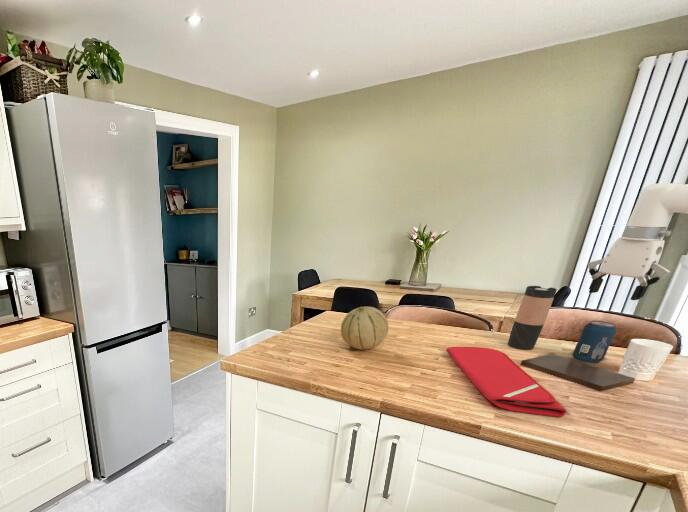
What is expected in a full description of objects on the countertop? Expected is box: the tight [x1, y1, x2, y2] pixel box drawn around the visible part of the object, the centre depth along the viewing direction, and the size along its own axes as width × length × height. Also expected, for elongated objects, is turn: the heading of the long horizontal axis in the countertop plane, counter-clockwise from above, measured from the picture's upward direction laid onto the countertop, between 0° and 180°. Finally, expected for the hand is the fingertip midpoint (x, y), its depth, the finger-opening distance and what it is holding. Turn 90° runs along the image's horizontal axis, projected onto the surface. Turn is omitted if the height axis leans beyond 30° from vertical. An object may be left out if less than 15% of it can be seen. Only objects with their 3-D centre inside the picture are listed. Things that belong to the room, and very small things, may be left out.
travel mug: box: [507, 285, 558, 351], centre depth 132 cm, size 8×8×20 cm
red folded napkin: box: [445, 346, 567, 418], centre depth 112 cm, size 16×41×4 cm, turn 161°
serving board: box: [519, 353, 636, 392], centre depth 115 cm, size 20×14×2 cm
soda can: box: [572, 320, 617, 365], centre depth 122 cm, size 7×7×12 cm
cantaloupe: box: [340, 306, 390, 351], centre depth 135 cm, size 15×15×15 cm
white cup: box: [617, 338, 674, 382], centre depth 111 cm, size 8×8×10 cm
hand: (613, 295), depth 116 cm, fingers open, 9 cm apart
